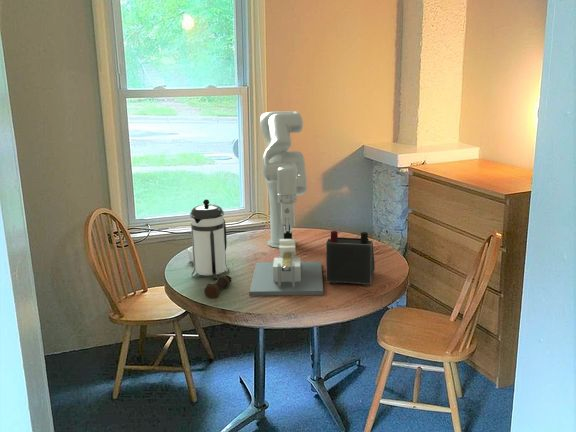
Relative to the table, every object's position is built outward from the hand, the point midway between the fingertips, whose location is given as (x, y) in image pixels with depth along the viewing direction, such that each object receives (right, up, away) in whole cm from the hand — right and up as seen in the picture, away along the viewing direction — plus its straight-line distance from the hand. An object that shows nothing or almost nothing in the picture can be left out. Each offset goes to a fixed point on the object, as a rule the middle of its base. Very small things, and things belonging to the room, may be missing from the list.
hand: (288, 241), depth 236 cm
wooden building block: (0, -11, -21) cm, 24 cm away
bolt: (-24, -17, -24) cm, 38 cm away
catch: (0, -10, -9) cm, 14 cm away
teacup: (-38, -8, +9) cm, 40 cm away
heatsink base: (0, -13, -15) cm, 20 cm away
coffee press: (-30, -12, -6) cm, 33 cm away
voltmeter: (+24, -13, -15) cm, 31 cm away
